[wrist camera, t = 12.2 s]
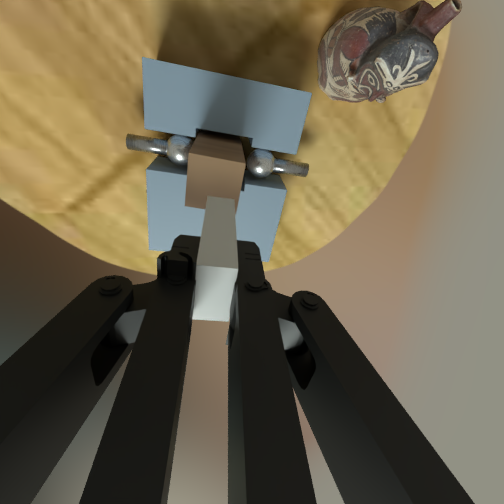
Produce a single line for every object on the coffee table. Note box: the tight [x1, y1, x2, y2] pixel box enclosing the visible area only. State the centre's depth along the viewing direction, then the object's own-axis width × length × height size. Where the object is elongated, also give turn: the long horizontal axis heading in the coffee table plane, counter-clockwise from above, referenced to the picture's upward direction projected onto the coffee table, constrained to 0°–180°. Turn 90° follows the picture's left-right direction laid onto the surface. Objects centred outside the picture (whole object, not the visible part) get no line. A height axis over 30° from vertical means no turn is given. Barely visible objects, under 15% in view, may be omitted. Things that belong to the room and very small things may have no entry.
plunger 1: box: [126, 134, 194, 166], centre depth 26 cm, size 3×6×3 cm, turn 80°
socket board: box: [142, 57, 312, 262], centre depth 29 cm, size 18×14×5 cm
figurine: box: [317, 0, 462, 103], centre depth 21 cm, size 7×7×12 cm
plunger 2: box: [247, 148, 309, 178], centre depth 28 cm, size 3×6×3 cm, turn 80°
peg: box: [185, 129, 246, 214], centre depth 25 cm, size 4×4×12 cm
